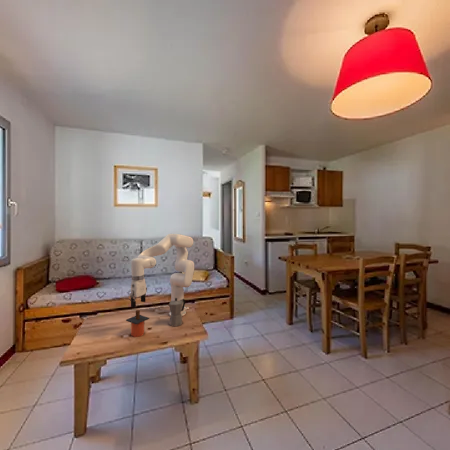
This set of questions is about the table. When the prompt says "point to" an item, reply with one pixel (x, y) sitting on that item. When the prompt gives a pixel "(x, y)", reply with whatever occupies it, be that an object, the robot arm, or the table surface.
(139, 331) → the cup
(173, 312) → the coffeepot
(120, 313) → the table surface
